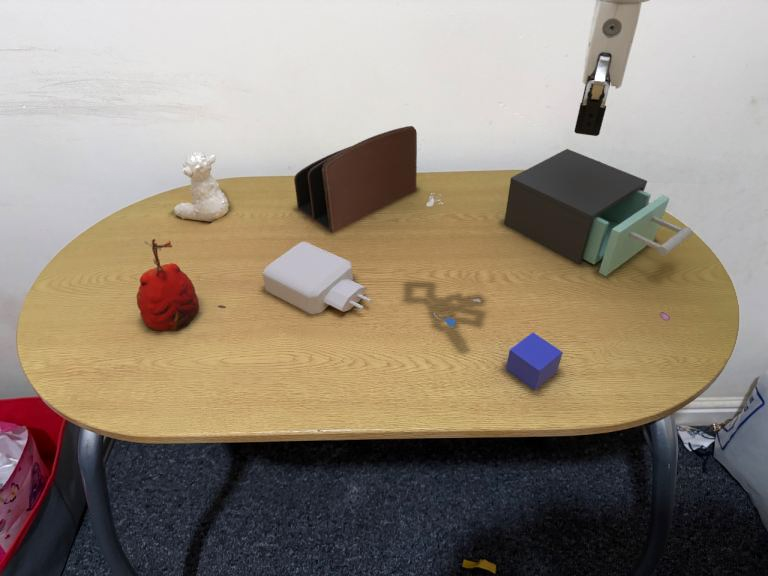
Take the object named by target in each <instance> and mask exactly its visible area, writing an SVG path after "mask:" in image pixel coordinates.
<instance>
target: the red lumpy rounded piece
mask: <svg viewBox="0 0 768 576" xmlns="http://www.w3.org/2000/svg"><path fill="white" fill-rule="evenodd" d="M144 243H145V244H147V245H149V247H151V250H152V253H153V256H154V258H153V259H152V261H153V263H154V265H156V267H154V268H150V269H149V270H145V271H144V272H143V273H142V275H141V276H140V277H139V283H140V284H139V287H138V291H137V293H136V304H137V308H138V309H139V311H140V312H139V313H140V316H141V319H142V320H143V322H144V323H145V324H146V325H147V326H148V327H149V328H150V329H153V330H155V331H160V332H164V331H166V332H167V331H175V332H177V331H180V330H182V329H183V330H184V329H185V328H187V327H188V326H189V325H190V323H191V322H192V320H193V319H194V318H195V317H196V315H197V313H198V311H199V307H200V303H199V302H200V301H199V299H198V295H197V293H196V289H195V286H194V283H193V281H192V279H190V278H189V277H188V275H187V274H186V273H185V272H183V271H182V270H181V267H180V266H179V265H178V264H176V263H173V262H170V263H166V264H163V265H161V262H160V258H159V254H158V250H159V251H162V249H163V248H173V245H172V243H171V240H168V241H167V242H166V243H163V244H158V243H157V242H156V239H155V238H153V239H152V240H151V243H149V242H147V241H144Z"/></svg>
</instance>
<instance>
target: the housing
mask: <svg viewBox="0 0 768 576" xmlns="http://www.w3.org/2000/svg"><path fill="white" fill-rule="evenodd" d="M647 183H648V180H646V179H644V178H642V177H639V176H636V175H634V174H631V173H629V172H626V171H623V170H621V169H620V168H617V167H614V166H611V165H609V164H606V163H604V162H601V161H599V160H596V159H594V158H591V157H589V156H586V155H584V154H582V153H580V152H576V151H574V150H572V149H569V148H566V149H564V150H562V151H560V152H558V153H556V154H554V155H552V156H550V157H548V158H547V159H544V160H543V161H541V162H539V163H536V164H534V165H533V166H531V167H529V168H527V169H525V170H523V171H521V172H519V173H517V174H515V175H513V176H511V177H510V180H509V187H508V195H507V203H506V208H505V214H504V215H505V216H504V221H503V225H504V226H506V227H508V228H510V229H512V230H514V231H515V232H518V233H519V234H521V235H523V236H525V237H526V238H528V239H530V240H532V241H534V242H536V243H537V244H540V245H541V246H543V247H544V248H547V249H549V250H551V251H552V252H554V253H555V254H557V255H560V256H562V257H563V258H565V259H567V260H569V261H571V262H573V264H576V265H578V266H579V265H581V264H582V263H583V260H584V259H583V256H584V252H585V249H586V245H587V242H588V238H589V234H590V231H591V227H592V224H593V220H594V218H596V217H597V216H599V215H600V214H602V213H604V212H605V211H607V210H608V209H610V208H611V207H613V206H614V205H616V204H618V203H619V202H621V201H622V200H624V199H625V198H627V197H628V196H630V195H632V194H633V193H635V192H636V191H638V190H642V191H644V192H645V189H646V186H647Z"/></svg>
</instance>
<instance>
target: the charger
mask: <svg viewBox="0 0 768 576" xmlns="http://www.w3.org/2000/svg"><path fill="white" fill-rule="evenodd" d="M353 275H354V274H353V266H352V262H351V261H350V260H347V259H346V258H344V257H341V256H339V255H336V254H335V253H332V252H330V251H327V250H325V249H323V248H320V247H318V246H316V245H314V244H312V243H309V242H308V241H300V242H299V243H297V244H296V245H294V246H293V247H292V248H290V249H289V250H287V251H286V252H284V253H283V254H282V255H281V256H279V257H278V258H276V259H275V260H274V261H272V262H271V263H269V264H268V265H267V266H266V267H265V268H264V270H263V271H262V278H263V283H264V288H265V291H266V292H267V293H269V294H271V295H273V296H275V297H277V298H279V299H280V300H283V301H285V302H287V303H288V304H290V305H292V306H294V307H296V308H298V309H299V310H301V311H304V312H306V313H308V314H310V315H316V314H321V313H322V312H323V311H325V310H326V309H327V308H328V307H333V308H335V309H337V310H339V311H341V312H343V313H344V312H347V311H350V310H351V309H353V308H354V307H356V308H358V309H360V310H363V309H364V305H361V304H360V303H359V302H360V301H361V300H363V301H365V302H368V303H371V302H372V299H371V298H369V297H367V296H365V294H366V290H367V289H368V287H367V286H364V285H362V284H360V283H358V282H355V281H354V278H353V277H354V276H353Z"/></svg>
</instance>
